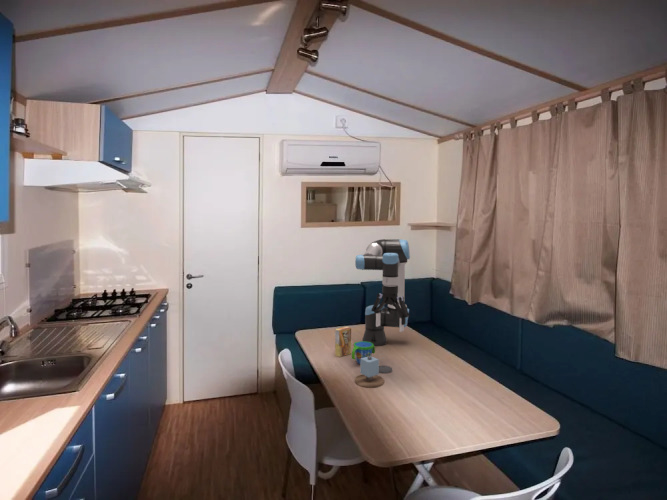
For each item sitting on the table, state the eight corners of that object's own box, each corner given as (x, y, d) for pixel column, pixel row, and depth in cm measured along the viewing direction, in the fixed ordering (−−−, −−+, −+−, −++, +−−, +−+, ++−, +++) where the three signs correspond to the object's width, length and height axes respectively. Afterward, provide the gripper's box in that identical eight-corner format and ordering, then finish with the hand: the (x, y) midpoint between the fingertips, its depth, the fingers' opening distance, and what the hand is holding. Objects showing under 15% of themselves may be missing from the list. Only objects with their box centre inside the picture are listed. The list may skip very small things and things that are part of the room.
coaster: (371, 369, 206) (371, 367, 205) (384, 365, 211) (384, 364, 210) (382, 374, 198) (382, 373, 198) (396, 370, 203) (396, 369, 203)
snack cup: (368, 356, 223) (368, 339, 223) (380, 362, 215) (381, 344, 214) (345, 362, 215) (346, 344, 214) (357, 368, 206) (357, 349, 205)
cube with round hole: (360, 373, 191) (360, 356, 190) (370, 370, 194) (370, 353, 193) (368, 377, 186) (368, 360, 185) (378, 374, 189) (378, 357, 188)
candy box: (346, 351, 231) (346, 326, 230) (351, 353, 228) (351, 327, 227) (334, 355, 226) (334, 328, 224) (339, 357, 222) (339, 330, 221)
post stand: (348, 379, 192) (349, 360, 191) (371, 373, 200) (371, 354, 199) (367, 390, 180) (367, 369, 180) (390, 383, 188) (390, 362, 187)
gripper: (364, 283, 197) (364, 325, 199) (408, 289, 180) (407, 335, 182) (373, 281, 203) (373, 322, 204) (417, 287, 186) (416, 331, 188)
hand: (389, 328), depth 193 cm, fingers open, 13 cm apart
